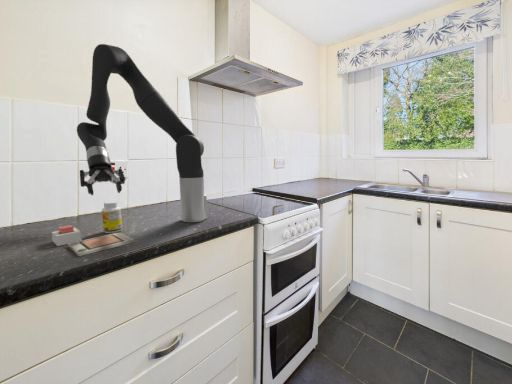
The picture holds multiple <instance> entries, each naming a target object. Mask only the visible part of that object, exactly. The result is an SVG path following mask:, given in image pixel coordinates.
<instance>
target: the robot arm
mask: <svg viewBox="0 0 512 384" xmlns="http://www.w3.org/2000/svg"><path fill="white" fill-rule="evenodd" d="M91 62H92V65H91V86H90V87H91V89H90V97H89V101H88V106H87V110H86V113H85V114H86V118H87V119H88V120H89V121H91V123H90V122H86V121H82V122H79V123H78V125H77V126H76V134H77V137H78V138H79V140H80V141H81V143H82V145H83V146H84V148H85V152H86V162H87V166H88V169H89V170H88V171H84V170H83V169H81V170H79V180H80V181H79V184H80V187H86V188H87V193H88V195H90V196H94V189H93V186H94V185H95V184H96V183H97V182H99V183H102V182H110V183H111V184H115V187H116V188H115V189H116V190H117V193H118V194H120V193H121V192H122V190H123V188H122V187H123V186H122V185H125V183H126V182H125V181H126V178H125V174H124V172H123V170H122V168H118V169H116V170H115V169H113V167H112V161H111V159H110V155H109V152H108V151H107V146H106V143H105V140H106V139H107V137H108V132H107V131H108V130H107V119H108V118H107V117H108V114H109V111H110V108H111V98H110V95H109V90H108V82H109V78H110V77H111V74H116V75H119V76H120V77H121V78H122V79H123V80H124V81H125V82H126V83H127V84H128V85H129V87H130V88H131V89H132V93H133V96H134V100H135V103H136V105H137V106H138V108H139V109H140V110H141V111H142V112H143V114H145V115H146V117H148V119H150V121H152V122H153V123H154V124H155V125H157V127H159V128H160V129H162V130H163V131H164V132H165V133H166V134H168V136H169V137H171V139H172V140H173V141H174V142H175V143H176V144H175V155H176V157H175V158H176V165H177V166H176V167H177V172H178V174H179V175H178V176H179V194H180V213H181V221H182V222H184V223H198V222H202V221H205V220H206V219H208V203H207V195H206V194H205V182H204V181H205V178H204V176H205V175H204V169H203V165H202V156H203V155H204V151H205V146H204V143H203V141H202V140H201V138H199V137H198V136H197V135H196V134H195V133H194V132H193V131H191V130H190V129H189V127H187V126H186V124H184V122H183V121H182V119H181V118H180V117H179V116H178V114H177V113H176V111H175V110H174V109H173V107H172V106H171V105H170V104H169V103H168V101H167V100H166V99H165V98H164V96H163V95H161V94H160V92H159V91H158V90H157V89H156V88H155V87H154V85H152V83H151V82H150V81H149V80H148V79H147V78H146V77H145V75H144V73H142V71H141V70H140V69H139V67H138V66H137V65H136V63H135V62H134V60H133V59H132V58H131V56H130V55H129V54H128V53H127V51H125V50H124V49H123V48H121V47H119V46H115V45H111V44H106V43H100V44H97V45H96V46H95V48H94V50H93V53H92V61H91ZM92 122H94V123H92ZM87 176H89V178H88V180H85V178H87Z"/></svg>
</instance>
